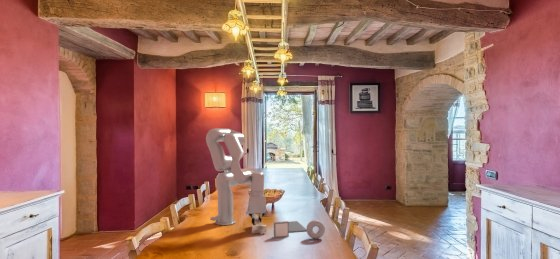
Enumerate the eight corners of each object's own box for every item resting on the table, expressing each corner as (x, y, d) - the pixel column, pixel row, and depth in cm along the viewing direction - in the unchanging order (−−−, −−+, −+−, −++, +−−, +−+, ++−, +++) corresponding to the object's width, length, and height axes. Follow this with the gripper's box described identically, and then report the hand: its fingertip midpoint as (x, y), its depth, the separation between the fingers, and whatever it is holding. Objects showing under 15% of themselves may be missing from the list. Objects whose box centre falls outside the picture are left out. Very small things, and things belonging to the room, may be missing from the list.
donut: (324, 237, 181) (324, 219, 181) (325, 239, 177) (325, 220, 178) (306, 237, 181) (306, 219, 181) (306, 239, 177) (306, 220, 177)
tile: (274, 237, 181) (274, 223, 181) (273, 236, 182) (273, 222, 182) (288, 236, 183) (288, 222, 183) (287, 235, 184) (287, 221, 184)
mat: (287, 232, 190) (287, 231, 190) (278, 223, 209) (278, 222, 209) (307, 231, 193) (307, 230, 193) (297, 222, 212) (297, 221, 212)
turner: (252, 233, 186) (252, 226, 186) (247, 221, 203) (247, 214, 202) (266, 232, 188) (266, 225, 188) (260, 220, 205) (260, 214, 204)
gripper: (244, 194, 190) (243, 227, 191) (272, 194, 194) (271, 225, 195) (242, 192, 198) (241, 223, 198) (269, 191, 202) (268, 222, 202)
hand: (256, 224), depth 196 cm, fingers closed on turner, 2 cm apart
